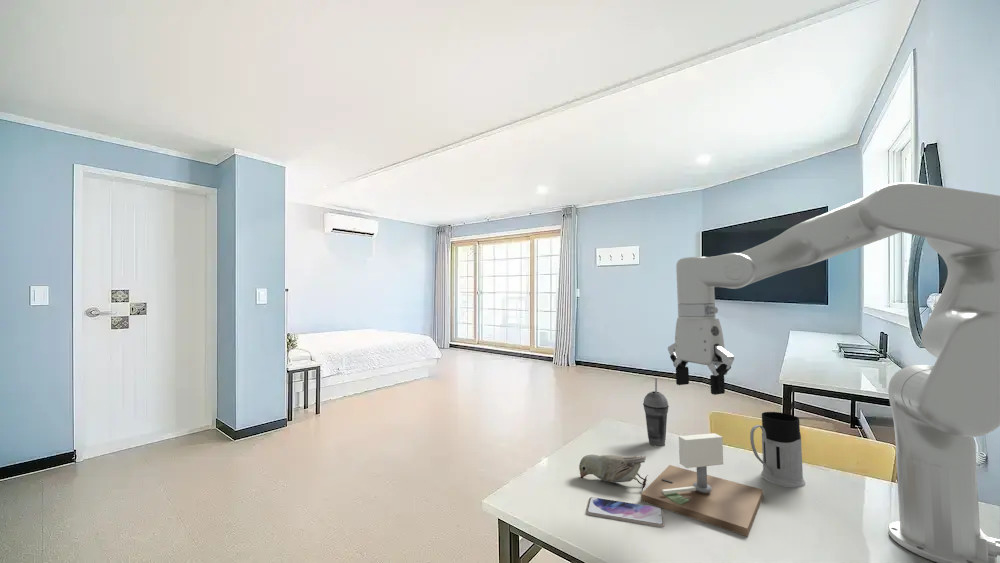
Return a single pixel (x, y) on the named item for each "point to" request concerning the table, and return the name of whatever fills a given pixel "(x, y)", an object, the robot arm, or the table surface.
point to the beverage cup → (656, 417)
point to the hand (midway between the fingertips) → (699, 388)
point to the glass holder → (780, 449)
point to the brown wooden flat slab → (706, 499)
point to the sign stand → (699, 458)
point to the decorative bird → (612, 467)
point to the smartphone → (625, 512)
